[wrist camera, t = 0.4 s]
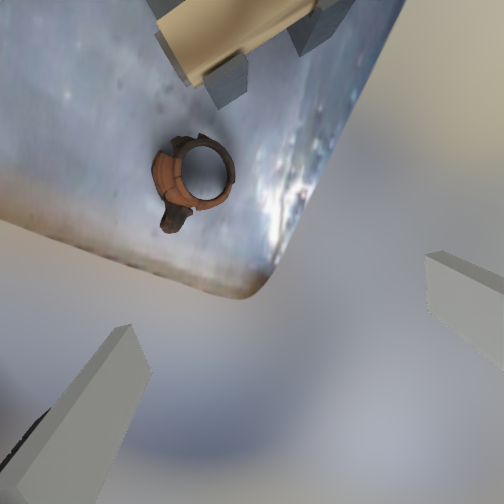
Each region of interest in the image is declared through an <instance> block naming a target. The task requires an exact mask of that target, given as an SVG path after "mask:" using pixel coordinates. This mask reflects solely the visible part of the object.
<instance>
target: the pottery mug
mask: <svg viewBox="0 0 504 504" xmlns="http://www.w3.org/2000/svg"><path fill="white" fill-rule="evenodd" d="M171 144H172V145H173V149H174V157H172V156H170V155H167V154H165V153H163V151H162V150H159V151H158V153H157V154H156V156H155V158H154V160H153V163H152V167H151V172H152V177H153V180H154V183H155V186H156V189H157V192H158V194H159V196H160V197H161V199H162V200H163V201H164V202H165V212H164V215H163V217H162V219H161V222H160V227H161V229H162V230H163V231H164V232H165V233H168V234H171V233H176V232H178V231H179V230H180V228H181V227H182V225H183V224H184V222H185V220H186V218H187V217H188V216H190V215H193V210H192V209H191V208H190V207H196V210H197V211H201V210H205V209H210V208H212V207H215V206H217V205H219V204H221V203H223V202H224V201H225V200H226V199H227V198H228V195H229V193H230V191H231V187H232V184H234V183H235V167H234V163H233V161H232V158H231V157H230V155H229V154H228V152H227V151H226V149H225V148H224V147H223V146H222V145H221V144H219V143H218V142H216V141H214V140H212V139H210V138H209V137H207V136H205V135H203V134H200V133H199V134H198V138H197V139H194V138H192V137H189V136H184V137H181V136H177V137H175V138H173V139H172V140H171ZM198 146H206V147H209V148H211V149H213V150H215V151H216V152H217V153H218V154H219V155H220V156H221V158H222V159H223V162H224V164H225V166H226V170H227V182H226V183H227V184H226V186H225V188H224V191H223V192H222V193H221V194H220V195H219V196H217V197H216V198H214V199H211V200H202V199H198V198H196V197H194V196H193V195H192V194H191V193H190V192H189V191H188V190H187V188H186V187H185V185H184V183H183V180H182V176H181V166H182V162H183V158H184V156H185V155H186V154H187V152H188V151H190V150H191V149H193V148H195V147H198Z"/></svg>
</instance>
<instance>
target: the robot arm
mask: <svg viewBox="0 0 504 504" xmlns="http://www.w3.org/2000/svg"><path fill="white" fill-rule="evenodd" d="M424 257H425V274H426V290H427V304H428V311H429V312H430V313H431V314H432V315H434V316H435V317H436V318H437V319H439V320H440V321H441V322H442V323H444V324H445V325H446V326H448V327H449V328H450V329H451V330H453V331H454V332H455V333H456V334H457V335H459V336H460V337H461V338H462V339H464V340H465V341H466V342H467V343H469V344H470V345H471V346H472V347H474V348H475V349H476V350H477V351H479V352H480V353H481V354H482V355H483V356H485V357H486V358H487V359H488V360H490V361H491V362H492V363H493V364H495V365H496V366H497V367H499V368H500V369H501V370H502V371H503V372H504V278H503V277H501V276H499V275H497V274H494V273H492V272H490V271H487V270H485V269H483V268H481V267H478V266H476V265H474V264H472V263H469V262H467V261H465V260H462V259H460V258H458V257H456V256H453V255H451V254H449V253H447V252H444V251H439V252H435V253H431V254H426V255H424ZM151 375H152V371H151V369H150V366H149V364H148V362H147V359H146V357H145V355H144V352H143V350H142V348H141V345H140V343H139V341H138V339H137V336H136V334H135V332H134V329H133V327H132V325H131V324H129V325H125V326H121V327H117V328H115V329H114V330H113V331H112V332H111V334H110V335H109V336H108V337H107V339H106V340H105V341H104V342H103V344H102V345H101V346H100V348H99V349H98V350H97V351H96V353H95V354H94V355H93V356H92V358H91V359H90V360H89V361H88V363H87V364H86V365H85V366H84V368H83V369H82V370H81V372H80V373H79V374H78V375H77V377H76V378H75V379H74V380H73V382H72V383H71V384H70V385H69V387H68V388H67V389H66V390H65V392H64V393H63V394H62V395H61V397H60V398H59V399H58V401H57V402H56V403H55V404H54V406H53V407H51V408H50V409H49V410H48V411H46V412H45V413H44V414H43V415H42V416H41V417H40V418H39V419H37V420H36V421H35V422H34V424H33V425H32V426H31V427H30V428H29V430H28V431H27V432H26V433H25V434H24V436H23V437H22V440H20V441H19V442H18V443H17V444H16V446H15V447H14V448H13V449H12V450H11V451H12V452H11V454H8V455H7V457H6V458H5V459H4V460H3V462H2V463H1V464H0V504H95V502H96V500H97V498H98V495H99V493H100V490H101V488H102V486H103V484H104V482H105V479H106V477H107V475H108V473H109V470H110V468H111V466H112V464H113V461H114V459H115V457H116V454H117V452H118V450H119V448H120V445H121V443H122V440H123V439H124V436H125V434H126V432H127V429H128V427H129V425H130V423H131V421H132V418H133V416H134V414H135V411H136V409H137V407H138V405H139V402H140V400H141V398H142V396H143V393H144V391H145V389H146V386H147V384H148V382H149V380H150V377H151Z"/></svg>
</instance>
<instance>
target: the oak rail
mask: <svg viewBox="0 0 504 504" xmlns="http://www.w3.org/2000/svg"><path fill="white" fill-rule="evenodd" d="M318 1H319V0H186V1H184V2H183V3H181V4H180V5H179V6H177V7H176V8H174V9H173V10H172V11H170V12H169V13H167V14H166V15H165V16H163V17H162V18H161V19H159V20H158V21H156V23H157V25H158V27H159V29H160V30H159V31H158V32H157V33H155V34H154V35H155V37H156V39H157V40H158V42H159V44H160V45H161V47H162V49H163V51H164V52H165V54H166V56H167V58H168V59H169V61H170V63H171V65H172V66H173V68H174V70H175V71H176V73H177V75H178V76H179V78H180V79H181V80H182V82H183V83H184V84H185V86H186V87H188V86H189V85H191V84H192V85H193V86H194V88H195V89H196V88H197V87H199V86H200V85H202V84H203V83H204V81H203V78H204V77H206V76H207V75H209V74H210V73H212V72H213V71H215V70H216V69H218V68H219V67H221V66H222V65H224V64H225V63H226V62H228V61H229V60H231V59H232V58H234V57H235V56H237V55H238V54H240V53H241V52H243V53H244V55H247V54H248V53H250V52H251V51H253V50H254V49H256V48H257V47H259V46H260V45H262V44H263V43H265V42H266V41H268V40H269V39H271V38H272V37H274V36H275V35H277V34H278V33H280V32H281V31H283V30H284V29H286V28H287V27H289V26H290V25H292V24H293V23H295V22H296V21H297V20H299V19H300V18H302V17H303V16H305V15H306V14H308V13H309V12H311V11H312V10H314V9H315V7H316V5H317V3H318Z"/></svg>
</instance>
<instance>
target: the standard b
mask: <svg viewBox="0 0 504 504" xmlns="http://www.w3.org/2000/svg"><path fill="white" fill-rule="evenodd" d="M354 2H355V0H319V1H318V3H317V5H316V7H315V9H314V10H312V11H311V12H309V13H308V14H306V15H305V16H303V17H302V18H300V19H299V20H297V21H296V22H295V23H293V24H292V25H290V26H289V27H287V30H288V32H289V35H290V37H291V39H292V41H293V43H294V46H295V48H296V50H297V52H298V54H299V57H301V56H303V55H304V54H306V53H307V52H309V51H310V50H312V49H313V48H315V47H316V46H318V45H320V44H321V43H323V42H324V41H326V40H327V39H329V38H330V37H332V35H333V34H334V32H335V30H336V29H337V27H338V26H339V24H340V23H341V21H342V20H343V18H344V17H345V15H346V14H347V12H348V11H349V9H350V8H351V6H352V5H353V3H354Z"/></svg>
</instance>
